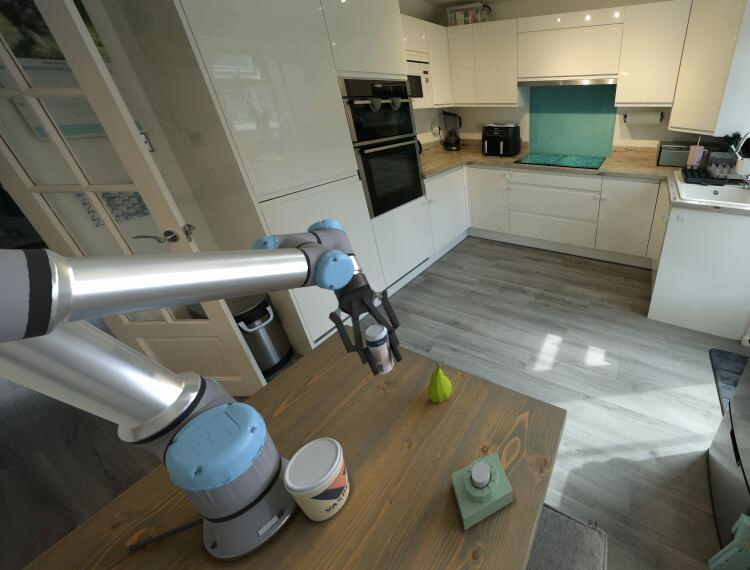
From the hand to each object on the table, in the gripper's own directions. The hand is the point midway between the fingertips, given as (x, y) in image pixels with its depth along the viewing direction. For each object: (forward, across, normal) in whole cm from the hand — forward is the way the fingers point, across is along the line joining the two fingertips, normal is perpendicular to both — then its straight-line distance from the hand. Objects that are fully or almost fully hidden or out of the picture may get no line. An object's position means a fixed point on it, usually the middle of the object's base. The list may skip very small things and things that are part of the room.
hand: (388, 367), depth 72 cm
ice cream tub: (+16, +18, -7) cm, 25 cm away
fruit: (+14, -10, -9) cm, 20 cm away
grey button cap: (+27, -4, +12) cm, 30 cm away
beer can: (0, 0, -5) cm, 5 cm away
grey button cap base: (+31, -4, +8) cm, 32 cm away
